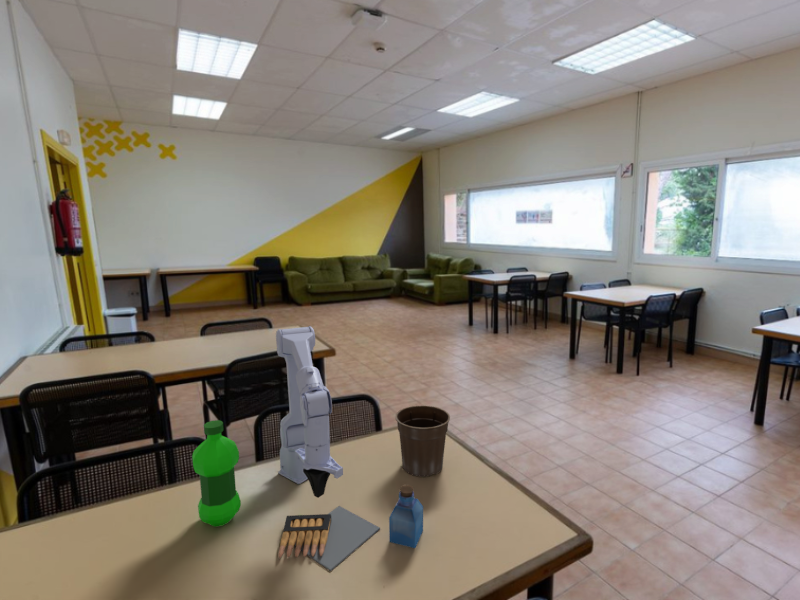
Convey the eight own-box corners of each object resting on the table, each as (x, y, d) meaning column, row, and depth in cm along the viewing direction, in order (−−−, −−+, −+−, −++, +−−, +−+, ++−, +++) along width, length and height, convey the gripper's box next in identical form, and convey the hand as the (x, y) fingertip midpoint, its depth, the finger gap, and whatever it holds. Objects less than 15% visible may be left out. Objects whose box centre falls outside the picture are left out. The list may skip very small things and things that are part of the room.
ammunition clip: (331, 513, 104) (324, 552, 92) (331, 520, 104) (325, 559, 92) (286, 515, 103) (274, 554, 91) (287, 522, 104) (275, 561, 92)
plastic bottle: (250, 518, 106) (244, 423, 102) (207, 540, 98) (199, 438, 94) (231, 501, 113) (225, 411, 109) (190, 520, 105) (181, 425, 101)
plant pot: (399, 450, 138) (399, 403, 136) (449, 454, 136) (450, 406, 133) (391, 479, 122) (391, 426, 120) (448, 483, 120) (449, 429, 118)
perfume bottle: (423, 530, 102) (423, 484, 100) (415, 548, 96) (415, 499, 94) (398, 524, 104) (398, 479, 102) (389, 542, 98) (389, 494, 96)
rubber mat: (289, 543, 97) (288, 541, 97) (339, 507, 110) (339, 505, 110) (330, 571, 89) (330, 569, 89) (379, 529, 102) (379, 527, 102)
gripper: (283, 438, 100) (285, 491, 103) (325, 458, 92) (327, 515, 94) (306, 427, 106) (308, 478, 108) (349, 445, 97) (350, 499, 99)
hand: (319, 494), depth 101 cm, fingers closed
